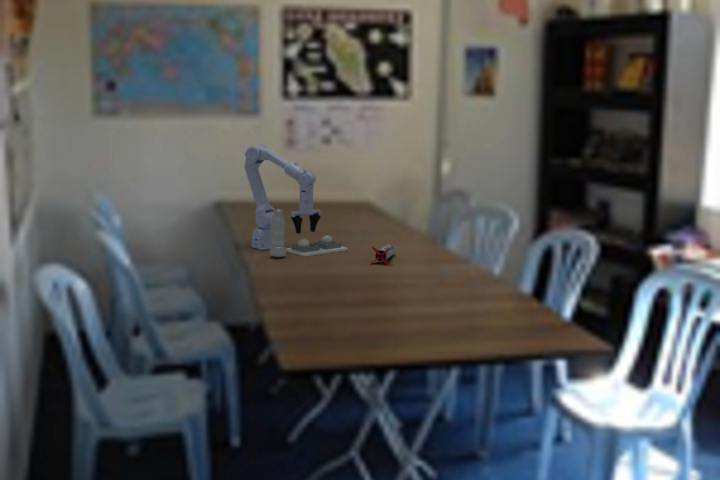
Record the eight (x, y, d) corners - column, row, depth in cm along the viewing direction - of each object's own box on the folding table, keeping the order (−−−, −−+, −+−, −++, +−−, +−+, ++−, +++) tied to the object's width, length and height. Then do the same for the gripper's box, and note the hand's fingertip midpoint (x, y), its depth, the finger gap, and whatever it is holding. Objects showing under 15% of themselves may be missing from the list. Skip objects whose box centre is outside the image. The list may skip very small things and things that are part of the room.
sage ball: (326, 248, 370) (326, 236, 369) (319, 246, 373) (319, 235, 372) (335, 247, 373) (335, 235, 372) (327, 245, 377) (328, 234, 376)
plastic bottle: (283, 259, 350) (284, 210, 346) (267, 258, 351) (268, 209, 347) (287, 256, 356) (288, 208, 352) (272, 255, 357) (272, 207, 353)
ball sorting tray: (304, 256, 356) (304, 249, 356) (284, 250, 367) (284, 243, 366) (348, 250, 372) (348, 243, 372) (327, 244, 382) (327, 238, 382)
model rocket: (407, 251, 366) (392, 232, 366) (397, 258, 343) (382, 238, 344) (388, 266, 368) (373, 248, 369) (377, 274, 346) (361, 255, 346)
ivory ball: (304, 253, 362) (301, 243, 360) (297, 251, 366) (293, 241, 364) (313, 247, 365) (309, 237, 362) (306, 245, 368) (302, 235, 366)
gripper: (298, 203, 354) (297, 235, 356) (325, 200, 363) (324, 232, 366) (288, 200, 359) (287, 232, 362) (315, 198, 369) (314, 229, 371)
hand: (305, 232), depth 364 cm, fingers open, 7 cm apart
